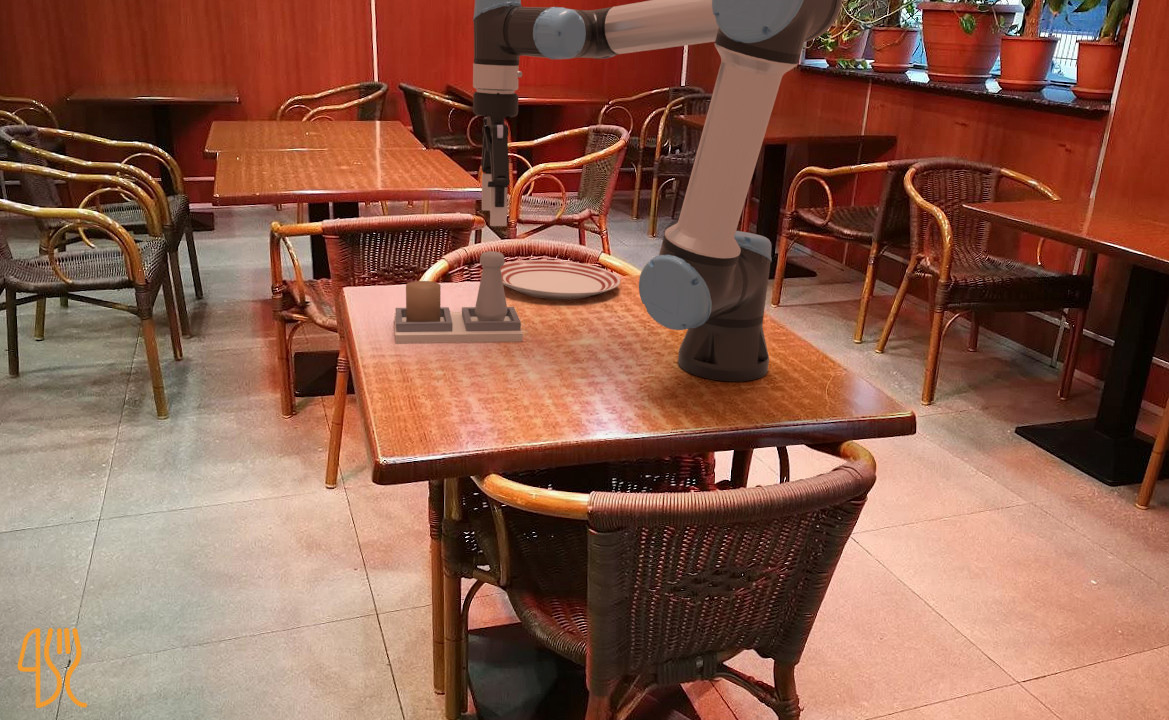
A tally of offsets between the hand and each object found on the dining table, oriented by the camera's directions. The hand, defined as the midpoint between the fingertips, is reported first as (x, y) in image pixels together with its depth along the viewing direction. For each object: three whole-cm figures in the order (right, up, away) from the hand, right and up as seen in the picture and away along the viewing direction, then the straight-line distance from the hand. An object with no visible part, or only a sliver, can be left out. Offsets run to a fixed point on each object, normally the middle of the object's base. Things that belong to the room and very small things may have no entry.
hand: (493, 217), depth 165 cm
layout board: (-7, -19, +6) cm, 22 cm away
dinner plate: (+10, -10, +37) cm, 40 cm away
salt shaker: (-1, -18, +6) cm, 19 cm away
